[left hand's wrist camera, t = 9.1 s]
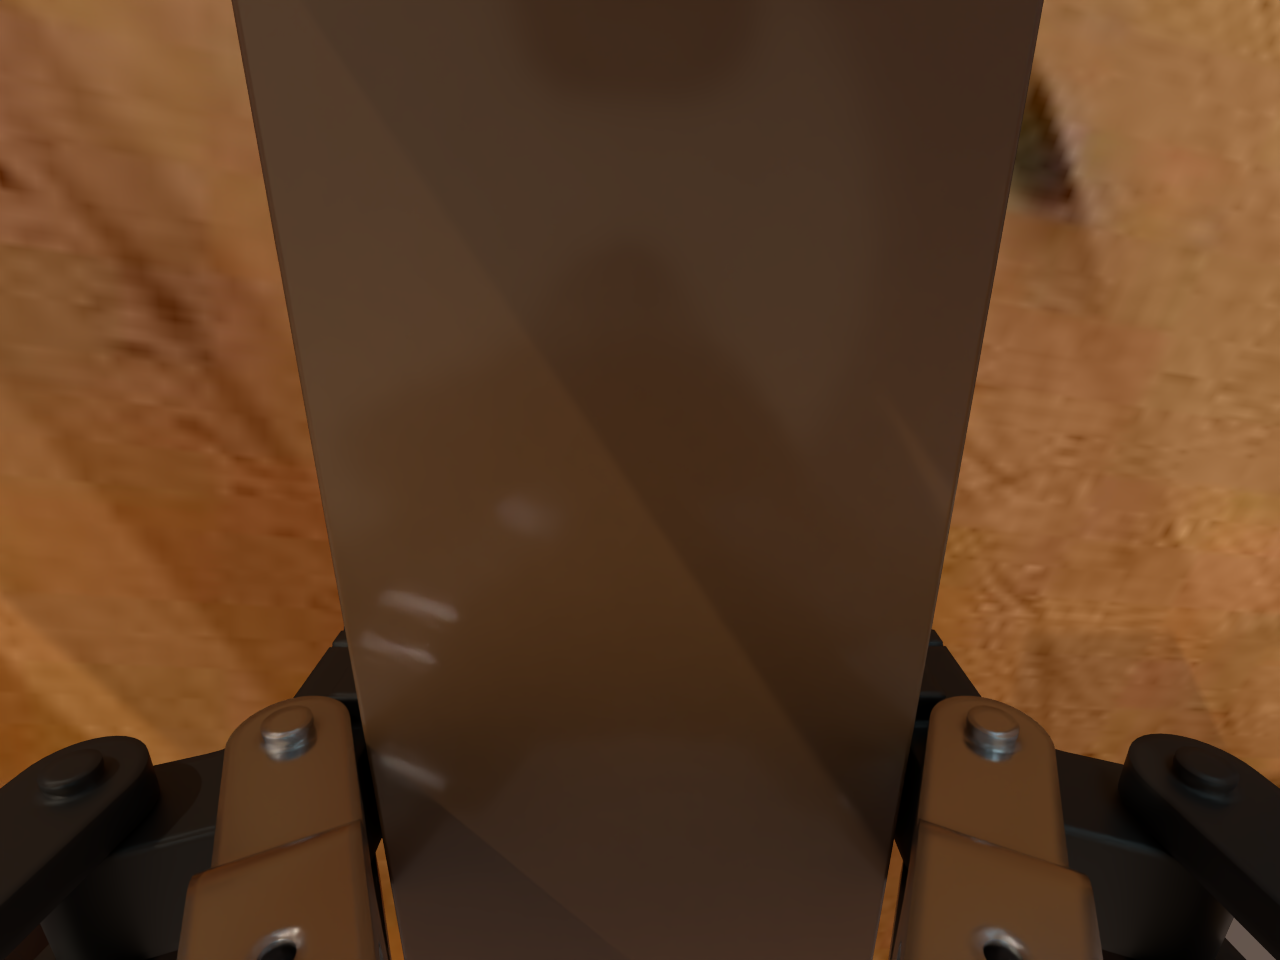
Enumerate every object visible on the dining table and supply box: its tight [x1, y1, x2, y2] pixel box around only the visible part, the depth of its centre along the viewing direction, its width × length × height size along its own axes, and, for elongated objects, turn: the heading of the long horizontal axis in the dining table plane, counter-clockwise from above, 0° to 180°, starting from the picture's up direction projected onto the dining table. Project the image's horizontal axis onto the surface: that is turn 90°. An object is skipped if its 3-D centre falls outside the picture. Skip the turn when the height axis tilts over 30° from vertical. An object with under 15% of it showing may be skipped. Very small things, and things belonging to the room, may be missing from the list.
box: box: [232, 0, 1044, 960], centre depth 9 cm, size 22×6×9 cm, turn 0°
